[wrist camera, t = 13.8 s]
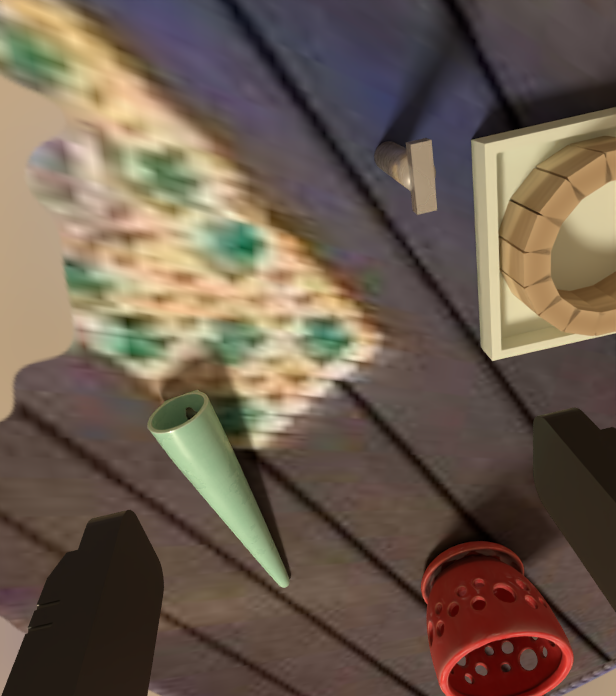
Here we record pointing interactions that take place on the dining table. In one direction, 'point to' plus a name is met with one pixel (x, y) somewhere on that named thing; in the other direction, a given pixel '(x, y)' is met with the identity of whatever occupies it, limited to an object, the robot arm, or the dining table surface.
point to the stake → (411, 170)
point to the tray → (571, 242)
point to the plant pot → (490, 623)
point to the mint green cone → (215, 473)
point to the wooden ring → (542, 229)
